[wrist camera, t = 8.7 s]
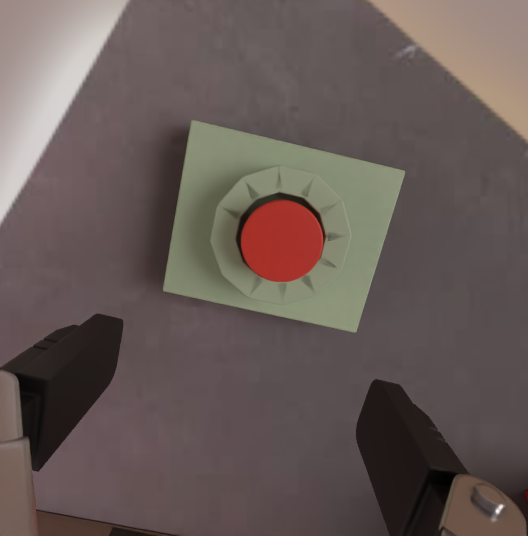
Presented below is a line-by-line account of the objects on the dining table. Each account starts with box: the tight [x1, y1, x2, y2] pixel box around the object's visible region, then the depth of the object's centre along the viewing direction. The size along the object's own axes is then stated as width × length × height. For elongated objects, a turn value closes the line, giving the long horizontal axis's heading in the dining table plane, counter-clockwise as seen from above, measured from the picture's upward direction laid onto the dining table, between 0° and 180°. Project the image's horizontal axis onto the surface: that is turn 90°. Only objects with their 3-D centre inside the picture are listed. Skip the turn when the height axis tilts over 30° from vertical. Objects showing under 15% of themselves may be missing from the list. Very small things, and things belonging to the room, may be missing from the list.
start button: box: [241, 199, 323, 282], centre depth 16 cm, size 4×4×2 cm
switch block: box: [163, 120, 405, 333], centre depth 18 cm, size 11×9×4 cm
